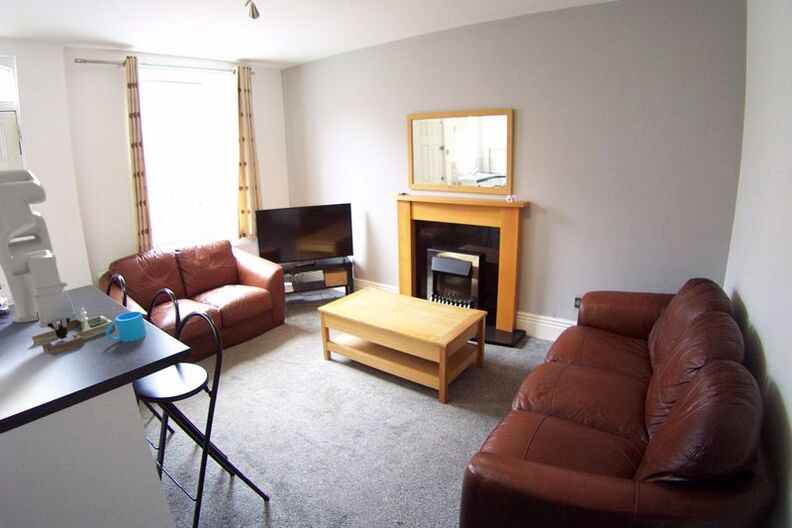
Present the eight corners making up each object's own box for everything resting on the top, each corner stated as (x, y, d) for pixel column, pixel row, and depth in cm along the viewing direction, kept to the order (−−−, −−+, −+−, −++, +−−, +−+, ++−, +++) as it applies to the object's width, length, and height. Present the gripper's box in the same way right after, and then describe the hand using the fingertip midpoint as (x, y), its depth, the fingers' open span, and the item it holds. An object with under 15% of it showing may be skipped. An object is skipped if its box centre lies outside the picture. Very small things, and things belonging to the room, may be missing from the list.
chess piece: (87, 336, 160) (81, 310, 158) (76, 335, 161) (70, 309, 159) (99, 330, 165) (93, 305, 162) (88, 330, 166) (83, 305, 163)
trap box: (29, 340, 159) (27, 332, 158) (97, 319, 176) (96, 312, 175) (49, 356, 146) (47, 348, 145) (121, 332, 163) (119, 324, 162)
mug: (141, 330, 164) (137, 309, 162) (149, 336, 159) (145, 315, 156) (105, 341, 156) (99, 320, 153) (112, 348, 150) (107, 326, 148)
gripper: (70, 281, 160) (82, 327, 166) (19, 294, 149) (34, 343, 154) (78, 285, 156) (90, 332, 161) (25, 298, 145) (40, 348, 150)
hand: (62, 337), depth 158 cm, fingers closed
